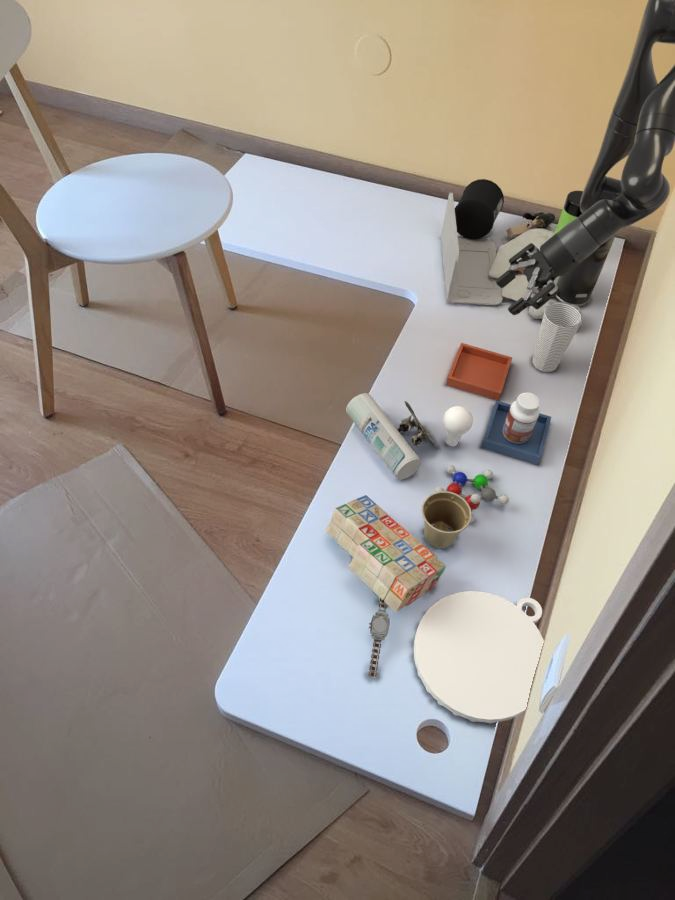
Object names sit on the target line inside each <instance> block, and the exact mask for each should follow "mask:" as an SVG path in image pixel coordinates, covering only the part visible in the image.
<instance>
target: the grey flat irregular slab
mask: <svg viewBox="0 0 675 900" xmlns="http://www.w3.org/2000/svg"><path fill="white" fill-rule="evenodd" d="M554 234H555V231H554V230H549V229H546V228H542V229H539V228H533V229H529V230H527V231H526V232H524V233H523V234H521V235H519V236H516V237H513V239H511V240H509V241H507V242H506V243H504V244H501V246H500V247H499V249H498V251H497V252H496V254H497V256H496V259H495V261H494V263H493V264H492V267H491V269H490V271H489V276H491V277H493V278H499V277H500V276H502V275H503V274H504V273H505V272H506V271H508V270H509V267H510V263H509V259H510V258H512V257H513V256H514V255H515V254H517V253H518V252H519V251H521V250H522V249H523V248H525V247H526V246H527V245H529V244H530V243H533V244H534V245H535V246H536V247H537V248H538V249H539V251H540V246H541V245H542V244H544V243H545V242H546V241H547V240H549V239H550V238H551V237H552V236H554ZM520 259H522V258H519V259H518V260H517V262H518V261H519V260H520ZM529 260H530V259H529ZM529 260H528V261H529ZM515 276H516V275H515ZM558 279H559V276H558V277H557V278H556V279H555V280H554V283H555V285H557V282H558ZM528 283H529V282H528V281H527V277H526V276H525V275H519V276H516V278H515V279H514V280H512V281H511V282H510V283H509V284H507V285H506V286H505V287H504V288H502V296H503V298H507V299H510V300H513V301H515V302H516V301H518V300H519V299H520V298H521V297H522V298H523V297H524V295H525V293H526V291H527V285H528ZM535 288H536V289H537V288H538V287H535ZM532 294H533V293H532ZM532 294H531V296H532ZM531 296H530V297H531ZM539 300H541V299H539Z"/></svg>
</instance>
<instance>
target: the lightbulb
mask: <svg viewBox="0 0 675 900" xmlns="http://www.w3.org/2000/svg"><path fill="white" fill-rule="evenodd" d="M442 420H443V422H442V423H443V426H444V428H445V430H446V440H445V442H446V444H447V445H448V446H449V447H456V446H457V445H458V443H459V441H460V440H461V438H462V436H463V435H465V434H466V433H468V432H469V431H470V430H471V428H472V426H473V423H474V419H473V415H472V413H471V411H470V410H469V409H468V408H467V407H465V406H462V405H454V406H451V407H450V408H448V409H447V410H446V411H445V413H444V415H443V417H442Z"/></svg>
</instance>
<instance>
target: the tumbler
mask: <svg viewBox="0 0 675 900" xmlns="http://www.w3.org/2000/svg"><path fill="white" fill-rule="evenodd" d="M583 191H584V190H572V191H570V192H569V193H567V196H566V199H565V202H564V204H563V207H562V210H561V213H560V216H559V219H558V222H557V225H556V228H555V231H554V232H555V234H556V233H557V232H558V231H560V230H561V229H562V228H563V227H565V226H566V225H567V224H568V223H570V222H571V221H573V220H575V219H576V218H578V217H579V216H580V215H581V214H583V213H582V212H581V211H580V200H581V196H582V193H583ZM555 234H554V235H555Z"/></svg>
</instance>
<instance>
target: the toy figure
mask: <svg viewBox="0 0 675 900" xmlns="http://www.w3.org/2000/svg"><path fill="white" fill-rule="evenodd" d="M522 219H525V220H527V221H528V222H523V223H521V224H520V225H517V226H516V225H515V226H512V227H508V228H507V229H506V230H505V232H506V234H507V237H508V239H510V238H511V239H512V238H516V237H518V236H519V235H521V234H523V233H524V232H526V231H528V230H530V229H546V228H550V227H551V226H552V223H553V222H555V220H556V216H555V213H551V212H547V213H544V212H542V211H541V212H536V213H534V215H533V214H532V213H530V212H524V213H523V215H522Z"/></svg>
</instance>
